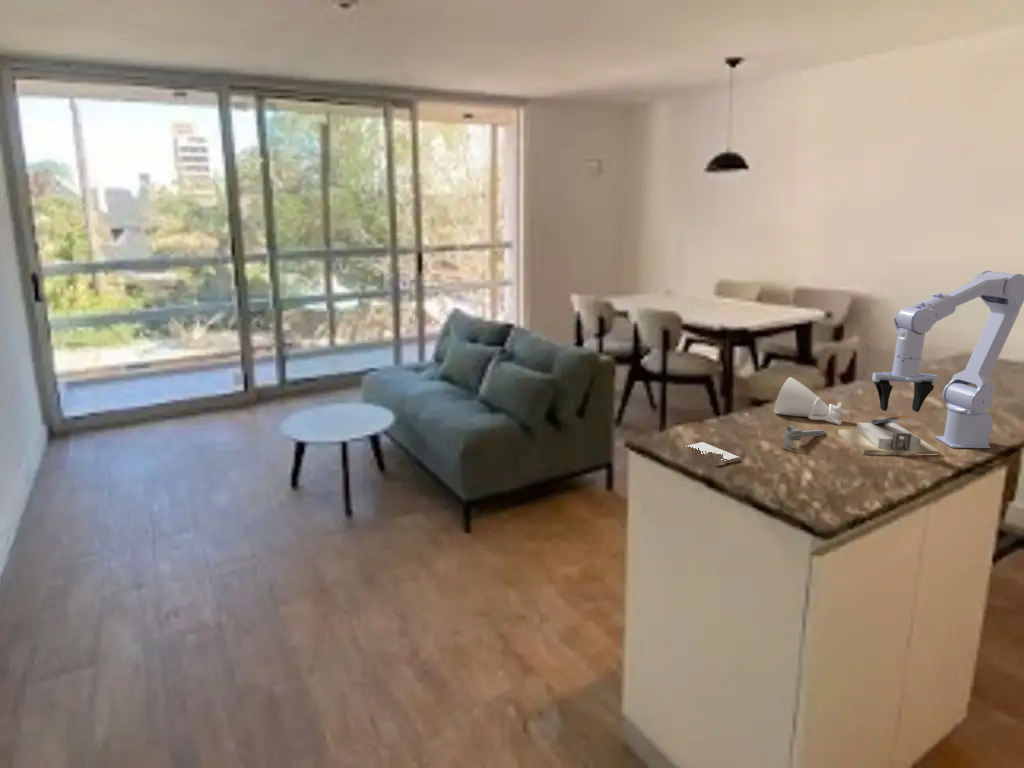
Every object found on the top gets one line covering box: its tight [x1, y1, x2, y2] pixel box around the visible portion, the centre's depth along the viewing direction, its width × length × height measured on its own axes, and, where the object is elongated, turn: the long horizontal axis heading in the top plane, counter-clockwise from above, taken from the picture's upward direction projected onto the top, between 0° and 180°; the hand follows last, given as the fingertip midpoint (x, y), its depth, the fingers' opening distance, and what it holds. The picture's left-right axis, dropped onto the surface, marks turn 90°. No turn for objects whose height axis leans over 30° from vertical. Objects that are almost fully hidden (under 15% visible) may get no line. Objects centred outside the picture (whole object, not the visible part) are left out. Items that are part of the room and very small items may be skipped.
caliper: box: [782, 425, 826, 451], centre depth 181 cm, size 20×1×6 cm, turn 130°
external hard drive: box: [685, 441, 741, 461], centre depth 172 cm, size 2×8×12 cm
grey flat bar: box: [873, 415, 906, 424], centre depth 177 cm, size 3×13×1 cm, turn 176°
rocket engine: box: [773, 376, 850, 426], centre depth 200 cm, size 12×12×18 cm
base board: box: [837, 418, 940, 456], centre depth 178 cm, size 18×16×6 cm
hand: (899, 410), depth 172 cm, fingers open, 7 cm apart
